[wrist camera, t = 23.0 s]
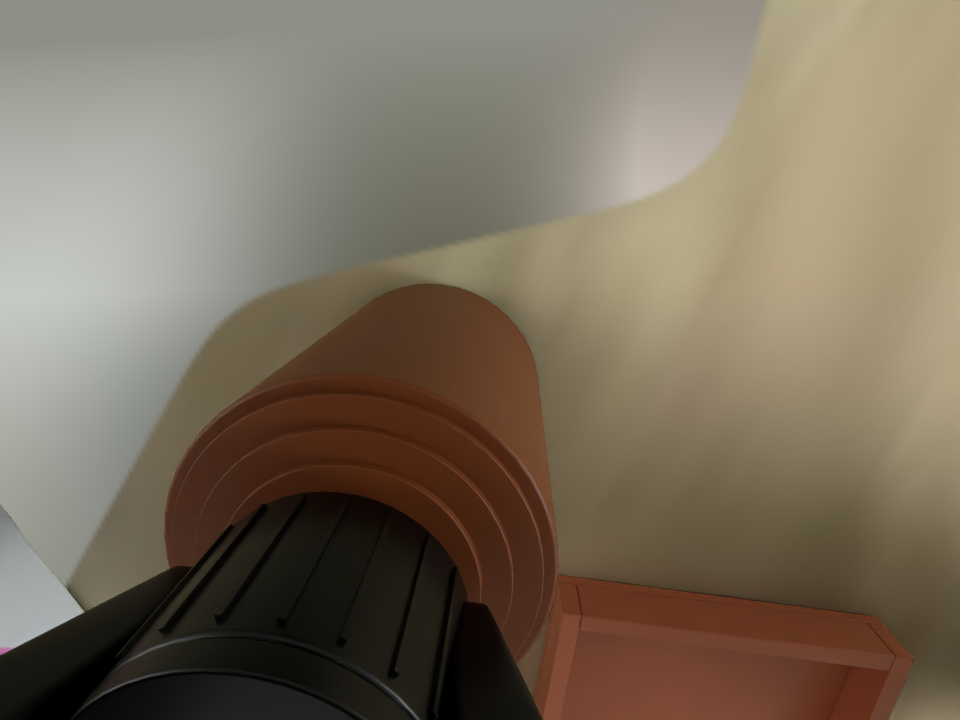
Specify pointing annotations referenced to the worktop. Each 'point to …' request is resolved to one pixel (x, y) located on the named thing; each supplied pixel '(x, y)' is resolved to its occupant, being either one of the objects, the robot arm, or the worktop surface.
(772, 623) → the tray
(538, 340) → the worktop surface
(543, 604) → the sauce bottle
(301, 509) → the cap
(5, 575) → the gum box
